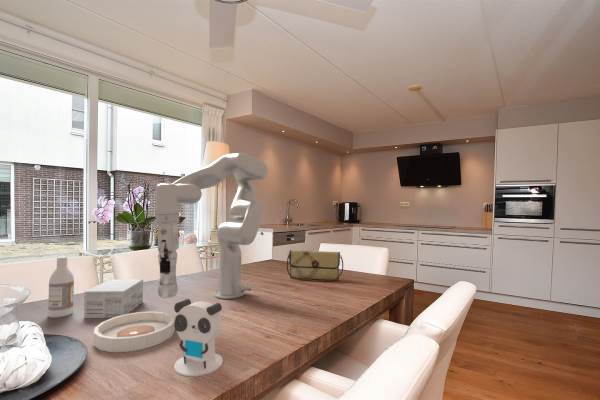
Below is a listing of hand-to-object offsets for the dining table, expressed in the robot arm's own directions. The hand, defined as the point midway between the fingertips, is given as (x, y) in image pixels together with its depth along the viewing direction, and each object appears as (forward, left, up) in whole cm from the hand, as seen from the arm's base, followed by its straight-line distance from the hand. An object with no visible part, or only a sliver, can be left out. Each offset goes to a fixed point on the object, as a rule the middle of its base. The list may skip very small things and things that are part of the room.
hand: (168, 269), depth 111 cm
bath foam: (+36, -4, -16) cm, 40 cm away
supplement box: (+20, -8, -16) cm, 27 cm away
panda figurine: (-17, +36, -16) cm, 42 cm away
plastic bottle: (0, 0, -10) cm, 10 cm away
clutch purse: (-61, -47, -16) cm, 79 cm away
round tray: (+4, +17, -16) cm, 23 cm away
